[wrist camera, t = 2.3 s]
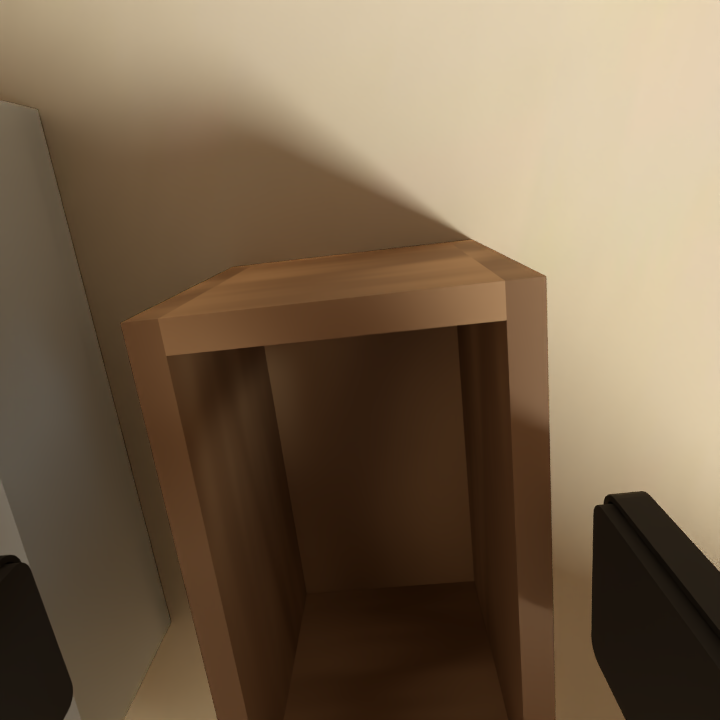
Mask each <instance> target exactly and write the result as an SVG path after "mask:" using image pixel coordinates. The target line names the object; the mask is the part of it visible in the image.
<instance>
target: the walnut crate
mask: <svg viewBox="0 0 720 720" xmlns="http://www.w3.org/2000/svg"><path fill="white" fill-rule="evenodd" d="M120 324H121V328H122V332H123V336H124V340H125V344H126V348H127V352H128V356H129V361H130V365H131V369H132V373H133V377H134V381H135V385H136V389H137V393H138V397H139V401H140V405H141V409H142V414H143V418H144V422H145V426H146V430H147V434H148V438H149V442H150V446H151V450H152V454H153V458H154V462H155V467H156V471H157V475H158V479H159V483H160V487H161V491H162V495H163V499H164V503H165V507H166V511H167V515H168V519H169V524H170V528H171V532H172V536H173V540H174V544H175V548H176V552H177V556H178V560H179V564H180V568H181V572H182V577H183V581H184V585H185V589H186V593H187V597H188V601H189V605H190V609H191V613H192V617H193V621H194V625H195V630H196V634H197V638H198V642H199V646H200V650H201V654H202V658H203V662H204V666H205V670H206V674H207V678H208V683H209V687H210V691H211V695H212V699H213V703H214V707H215V711H216V715H217V719H218V720H555V673H554V625H553V577H552V529H551V481H550V433H549V385H548V337H547V288H546V276H545V275H543V274H541V273H539V272H537V271H535V270H533V269H531V268H529V267H527V266H524V265H522V264H520V263H518V262H516V261H514V260H512V259H510V258H508V257H506V256H504V255H502V254H500V253H498V252H496V251H494V250H492V249H490V248H488V247H486V246H484V245H482V244H480V243H478V242H476V241H474V240H472V239H470V240H461V241H453V242H444V243H435V244H427V245H418V246H409V247H401V248H392V249H383V250H374V251H366V252H357V253H348V254H340V255H331V256H322V257H314V258H305V259H296V260H287V261H279V262H270V263H261V264H253V265H244V266H235V267H231V268H229V269H227V270H225V271H223V272H221V273H219V274H217V275H215V276H213V277H211V278H209V279H207V280H205V281H203V282H201V283H199V284H197V285H195V286H193V287H191V288H189V289H187V290H185V291H183V292H181V293H179V294H177V295H175V296H173V297H171V298H169V299H167V300H165V301H163V302H161V303H159V304H157V305H155V306H153V307H151V308H149V309H147V310H145V311H143V312H141V313H139V314H137V315H135V316H133V317H131V318H129V319H127V320H125V321H123V322H121V323H120Z"/></svg>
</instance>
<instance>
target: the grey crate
mask: <svg viewBox="0 0 720 720" xmlns="http://www.w3.org/2000/svg"><path fill="white" fill-rule="evenodd" d="M1 555H15V556H17V557H18V558H19V559H20V560H21V562H22V563H26V564H27V565H28V566H29V567H30V569H31V571H32V574H33V577H34V579H35V582H36V585H37V588H38V590H39V593H40V596H41V599H42V601H43V604H44V607H45V610H46V612H47V615H48V618H49V621H50V623H51V626H52V629H53V632H54V634H55V637H56V640H57V643H58V645H59V648H60V651H61V654H62V656H63V659H64V662H65V665H66V667H67V670H68V673H69V676H70V678H71V681H72V685H73V698H72V702H71V706H70V708H69V710H68V712H67V714H66V716H65V718H64V720H124V718H125V716H126V714H127V712H128V710H129V708H130V706H131V703H132V701H133V699H134V697H135V695H136V693H137V691H138V689H139V687H140V685H141V683H142V681H143V679H144V677H145V675H146V673H147V671H148V669H149V666H150V664H151V662H152V660H153V658H154V656H155V654H156V652H157V650H158V648H159V646H160V644H161V642H162V640H163V638H164V636H165V634H166V632H167V629H168V627H169V625H170V623H171V621H170V617H169V613H168V609H167V606H166V602H165V598H164V594H163V590H162V586H161V582H160V579H159V575H158V571H157V567H156V563H155V559H154V555H153V552H152V548H151V544H150V540H149V536H148V532H147V529H146V525H145V521H144V517H143V513H142V509H141V505H140V502H139V498H138V494H137V490H136V486H135V482H134V478H133V475H132V471H131V467H130V463H129V459H128V455H127V451H126V448H125V444H124V440H123V436H122V432H121V428H120V425H119V421H118V417H117V413H116V409H115V405H114V401H113V398H112V394H111V390H110V386H109V382H108V378H107V374H106V371H105V367H104V363H103V359H102V355H101V351H100V348H99V344H98V340H97V336H96V332H95V328H94V324H93V321H92V317H91V313H90V309H89V305H88V301H87V297H86V294H85V290H84V286H83V282H82V278H81V274H80V271H79V267H78V263H77V259H76V255H75V251H74V247H73V244H72V240H71V236H70V232H69V228H68V224H67V220H66V217H65V213H64V209H63V205H62V201H61V197H60V193H59V190H58V186H57V182H56V178H55V174H54V170H53V167H52V163H51V159H50V155H49V151H48V147H47V143H46V140H45V136H44V132H43V128H42V124H41V120H40V116H39V113H38V109H35V108H31V107H27V106H22V105H18V104H14V103H10V102H6V101H2V100H0V556H1Z"/></svg>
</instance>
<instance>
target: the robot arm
mask: <svg viewBox="0 0 720 720" xmlns="http://www.w3.org/2000/svg"><path fill="white" fill-rule="evenodd" d="M591 637H592V645H593V650H594V653H595V657H596V659H597V662H598V664H599V666H600V668H601V670H602V672H603V674H604V676H605V678H606V680H607V682H608V685H609V687H610V689H611V691H612V693H613V695H614V697H615V699H616V701H617V703H618V705H619V707H620V709H621V711H622V713H623V715H624V717H625V719H626V720H720V572H719V571H718V570H717V568H716V567H715V566H714V565H713V564H712V563H711V562H710V561H709V560H708V559H707V558H706V556H705V555H704V554H703V553H702V552H701V551H700V550H699V549H698V548H697V547H696V545H695V544H694V543H693V542H692V541H691V540H690V539H689V538H688V537H687V536H686V535H685V533H684V532H683V531H682V530H681V529H680V528H679V527H678V526H677V525H676V524H675V522H674V521H673V520H672V519H671V518H670V517H669V516H668V515H667V514H666V513H665V511H664V510H663V509H662V508H661V507H660V506H659V505H658V504H657V503H656V502H655V501H654V499H653V498H652V497H651V496H650V495H649V494H647V493H646V492H643V491H640V492H630V493H620V494H610V495H607V496H606V497H605V499H604V505H597V506H595V508H594V514H593V572H592V630H591ZM72 698H73V685H72V681H71V678H70V676H69V673H68V670H67V667H66V665H65V662H64V659H63V656H62V654H61V651H60V648H59V645H58V643H57V640H56V637H55V634H54V632H53V629H52V626H51V623H50V621H49V618H48V615H47V612H46V610H45V607H44V604H43V601H42V599H41V596H40V593H39V590H38V588H37V585H36V582H35V579H34V577H33V574H32V571H31V569H30V567H29V566H28V565H27V564H26V563H22V562H21V560H20V559H19V558H18V557H17V556H15V555H1V556H0V720H64V718H65V716H66V714H67V712H68V710H69V708H70V706H71V702H72Z"/></svg>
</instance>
